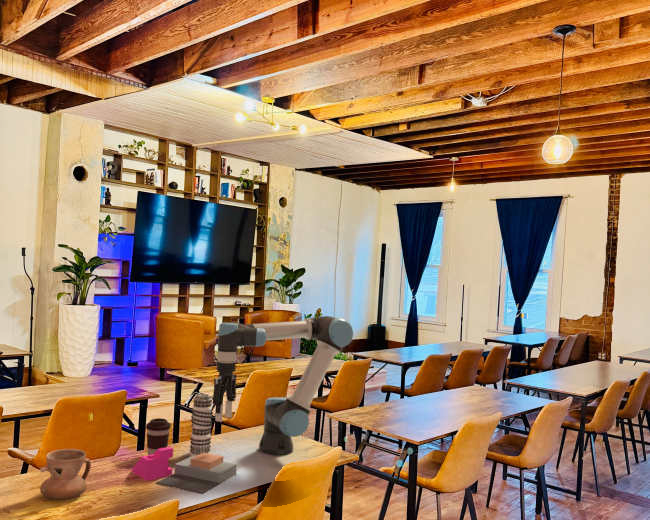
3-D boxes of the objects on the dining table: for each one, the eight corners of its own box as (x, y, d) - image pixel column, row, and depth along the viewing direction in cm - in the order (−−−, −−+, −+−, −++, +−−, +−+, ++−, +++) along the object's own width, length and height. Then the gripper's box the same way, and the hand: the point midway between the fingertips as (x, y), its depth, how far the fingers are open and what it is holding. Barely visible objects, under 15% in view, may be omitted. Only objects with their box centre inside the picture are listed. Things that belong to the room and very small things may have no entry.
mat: (182, 470, 235) (182, 469, 235) (226, 480, 227) (226, 479, 227) (156, 483, 220) (156, 482, 220) (202, 493, 213) (202, 492, 213)
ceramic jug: (48, 509, 193) (52, 464, 194) (27, 495, 203) (31, 453, 203) (100, 495, 207) (103, 454, 208) (78, 484, 217) (81, 444, 217)
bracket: (171, 475, 230) (173, 448, 230) (147, 481, 222) (148, 453, 223) (155, 467, 238) (157, 440, 238) (131, 472, 231) (132, 445, 231)
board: (192, 465, 242) (193, 455, 242) (236, 474, 234) (236, 464, 234) (174, 474, 230) (174, 464, 230) (219, 484, 223) (220, 473, 223)
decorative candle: (184, 453, 257) (187, 394, 257) (203, 449, 263) (206, 391, 264) (195, 458, 250) (199, 398, 251) (215, 455, 256) (218, 395, 257)
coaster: (203, 458, 239) (203, 452, 239) (223, 462, 235) (223, 456, 235) (190, 465, 230) (190, 458, 230) (210, 469, 227) (210, 462, 227)
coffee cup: (162, 461, 245) (164, 424, 245) (139, 458, 247) (141, 421, 247) (173, 454, 254) (175, 418, 255) (151, 451, 256) (153, 416, 257)
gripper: (231, 357, 253) (228, 412, 253) (205, 363, 235) (201, 423, 235) (246, 359, 251) (243, 415, 250) (221, 365, 233) (218, 425, 232)
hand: (223, 419), depth 243 cm, fingers open, 6 cm apart
